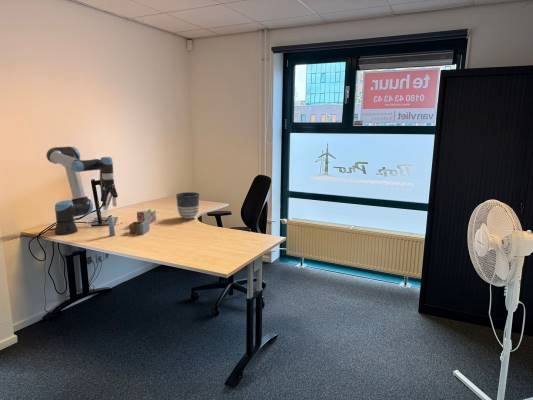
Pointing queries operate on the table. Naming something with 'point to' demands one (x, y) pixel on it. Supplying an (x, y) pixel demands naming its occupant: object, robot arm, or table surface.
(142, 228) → the wall
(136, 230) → the slider block
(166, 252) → the table surface
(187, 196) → the planter
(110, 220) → the dowel
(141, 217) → the stack of blocks
